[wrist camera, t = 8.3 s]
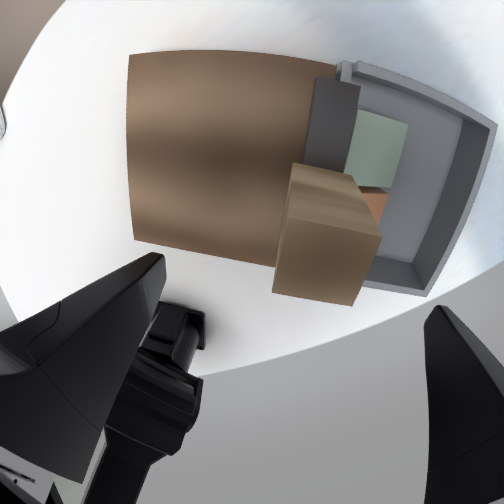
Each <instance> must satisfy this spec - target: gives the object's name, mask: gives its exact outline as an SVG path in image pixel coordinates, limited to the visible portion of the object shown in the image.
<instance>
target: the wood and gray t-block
mask: <svg viewBox="0 0 504 504" xmlns="http://www.w3.org/2000/svg"><path fill="white" fill-rule="evenodd" d="M360 90H361V86H359V85H355V84H351V83H348V82H344V81H340V80H336V79H332V78H327V77H323V76H318V77H316V78H315V84H314V90H313V96H312V101H311V107H310V113H309V119H308V124H307V130H306V135H305V141H304V146H303V151H302V157H301V162H300V164H299V163H294V162H293V164H292V169H291V175H290V180H289V186H288V191H287V196H286V201H285V207H284V212H283V217H282V225H281V232H280V239H279V247H278V254H277V261H276V268H275V274H274V281H273V288H272V293H276V294H282V295H287V296H293V297H299V298H304V299H310V300H316V301H322V302H328V303H334V304H340V305H346V306H352V305H353V303H354V301H355V299H356V297H357V295H358V293H359V291H360V289H361V287H362V284H363V282H364V280H365V278H366V276H367V273H368V271H369V269H370V267H371V264H372V262H373V260H374V257H375V255H376V253H377V250H378V248H379V245H380V243H381V240H382V238H383V236H382V234H381V232H380V230H379V228H378V226H377V224H376V221H375V219H374V217H373V215H372V213H371V211H370V209H369V207H368V205H367V203H366V201H365V199H364V197H363V195H362V193H361V191H360V189H359V188H358V186H357V184H356V182H355V180H354V178H353V176H352V175H349V174H345V173H342V172H343V168H344V164H345V160H346V156H347V152H348V147H349V143H350V139H351V134H352V130H353V125H354V120H355V115H356V111H357V106H358V100H359V95H360Z"/></svg>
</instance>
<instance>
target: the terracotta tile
mask: <svg viewBox="0 0 504 504" xmlns="http://www.w3.org/2000/svg"><path fill="white" fill-rule="evenodd" d="M358 188H359V189H360V191H361V193H362V195H363V197H364V199H365V201H366V203H367V205H368V207H369V209H370V211H371V213H372V215H373V217H374V219H375V221H376V224H377V226H378V224H379V221H380V218H381V215H382V213H383V210H384V207H385V204H386V201H387V198H388V195H389V194H388V193H386V192H385V191H383V190H382V189H380V188H379V187H371V186H358Z"/></svg>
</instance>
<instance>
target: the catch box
mask: <svg viewBox="0 0 504 504" xmlns="http://www.w3.org/2000/svg"><path fill="white" fill-rule="evenodd" d="M335 79H336V80H340V81H344V82H348V83H351V84H355V85H359V86H361V90H360V95H359V100H358V106H357V108H358V109H362V110H365V111H369V112H372V113H376V114H379V115H382V116H386V117H389V118H392V119H395V120H397V121H400V122H403V123H405V124H408V129H407V133H406V137H405V141H404V144H403V148H402V152H401V155H400V159H399V162H398V166H397V169H396V173H395V176H394V179H393V182H392V186H391V188H387V187H379V188H380V189H382V190H383V191H385V192H386V193H388V194H389V195H388V198H387V201H386V204H385V207H384V210H383V213H382V215H381V218H380V221H379V224H378V228H379V230H380V232H381V234H382V236H383V238H382V240H381V243H380V245H379V248H378V250H377V253H376V255H375V257H374V260H373V262H372V264H371V267H370V269H369V271H368V273H367V276H366V278H365V280H364V282H363V284H362V286H363V287H369V288H374V289H380V290H386V291H392V292H398V293H404V294H409V295H415V296H421V297H427V295H428V294H429V292H430V290H431V289H432V287H433V285H434V284H435V282H436V280H437V278H438V277H439V275H440V273H441V271H442V270H443V268H444V266H445V264H446V262H447V260H448V258H449V256H450V254H451V252H452V250H453V248H454V246H455V244H456V242H457V240H458V238H459V236H460V234H461V232H462V230H463V227H464V225H465V223H466V221H467V218H468V216H469V213H470V211H471V209H472V206H473V204H474V201H475V199H476V196H477V193H478V191H479V188H480V185H481V182H482V179H483V176H484V173H485V170H486V167H487V164H488V161H489V157H490V154H491V150H492V147H493V143H494V139H495V135H496V131H497V127H498V124H496V123H495V122H493V121H492V120H490V119H489V118H487V117H485V116H484V115H482V114H481V113H479V112H477V111H476V110H474V109H472V108H470V107H469V106H467V105H465V104H463V103H461V102H459V101H458V100H456V99H454V98H452V97H450V96H448V95H446V94H444V93H442V92H440V91H438V90H435V89H433V88H431V87H429V86H427V85H424V84H422V83H420V82H417V81H415V80H412V79H410V78H407V77H405V76H402V75H400V74H397V73H394V72H392V71H389V70H386V69H383V68H380V67H377V66H374V65H371V64H367V63H364V62H361V61H358V62H356V63H351V62H347V61H342V62H340V63H338V64H337V71H336V77H335Z"/></svg>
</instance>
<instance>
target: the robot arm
mask: <svg viewBox="0 0 504 504" xmlns="http://www.w3.org/2000/svg"><path fill="white" fill-rule="evenodd" d="M165 282H166V264H165V257H164V255H163V254H160V253H155V252H151V253H148V254H146V255H144V256H142V257H140V258H138V259H137V260H135V261H133V262H131V263H129V264H127V265H125V266H123V267H121V268H119V269H117V270H115V271H113V272H112V273H110V274H108V275H106V276H104V277H102V278H100V279H98V280H97V281H95V282H93V283H91V284H89V285H87V286H86V287H84V288H82V289H80V290H78V291H77V292H75V293H73V294H71V295H69V296H68V297H66V298H64V299H62V301H59V302H57V303H55V304H53V305H52V306H50V307H48V308H46V309H44V310H43V311H41V312H39V313H37V314H35V315H33V316H31V317H29V318H27V319H25V320H23V321H21V322H19V323H17V324H15V325H13V326H11V327H9V328H7V329H5V330H3V331H1V332H0V504H63V502H62V499H61V497H60V495H59V493H58V491H57V488H56V486H55V483H54V478H55V476H56V474H57V475H59V476H62V477H64V478H67V479H69V480H72V481H75V482H78V483H81V484H82V483H83V481H84V478H85V475H86V472H87V470H88V467H89V464H90V461H91V458H92V455H93V453H94V451H95V448H96V445H97V443H98V440H99V438H100V435H101V432H102V430H103V429H104V435H105V443H104V446H103V448H102V451H101V453H100V455H99V458H98V460H97V463H96V465H95V468H94V470H93V472H92V475H91V477H90V480H89V483H88V485H87V488H86V491H85V493H84V496H83V498H82V501H81V504H136V501H137V498H138V496H139V493H140V491H141V488H142V486H143V483H144V481H145V478H146V475H147V473H148V470H149V468H150V466H151V465H152V464H153V463H155V462H156V461H158V460H160V459H161V458H163V457H165V456H166V455H170V456H172V455H174V454H175V453H176V452H177V451H178V450H179V449H180V448H181V445H182V442H183V439H184V436H185V433H187V432H189V430H190V429H191V428H192V427H193V425H194V423H195V422H196V419H197V417H198V414H199V409H200V402H201V395H202V387H203V379H201V378H197V377H195V376H193V375H191V374H189V373H187V372H188V370H189V367H190V364H191V361H192V358H193V356H194V353H195V350H196V349H199V350H204V348H205V315H204V314H203V313H201V312H197V311H193V310H189V309H184V308H180V307H176V306H172V305H168V304H164V303H161V302H158V301H159V298H160V295H161V293H162V290H163V287H164V285H165ZM150 322H151V324H150ZM149 324H150V326H149ZM148 327H149V328H148ZM147 329H148V330H147ZM146 331H147V332H146ZM145 333H146V334H145ZM144 335H145V336H144ZM143 337H144V338H143ZM142 339H143V340H142ZM141 341H142V342H141ZM424 341H425V367H426V378H427V391H428V407H429V456H428V457H429V458H428V472H427V482H426V491H425V492H426V493H425V500H424V504H504V367H503V366H502V364H501V363H500V362H499V361H498V360H497V359H496V358H495V356H494V355H493V354H492V353H491V352H490V351H489V349H488V348H486V346H485V345H484V344H483V343H482V342H481V341H480V340H479V339H478V337H477V336H476V335H475V334H474V333H473V332H472V331H471V330H470V329H469V328H468V327H467V326H466V325H465V324H464V323H463V322H462V321H461V320H460V319H459V318H458V317H457V316H456V315H455V314H454V313H453V312H452V311H451V310H450V309H449V308H448V307H446V306H443V305H437V306H435V307H434V309H433V311H432V312H431V314H430V315H429V316H428V318H427V319H426V321H425V323H424ZM140 343H141V344H140Z"/></svg>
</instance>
